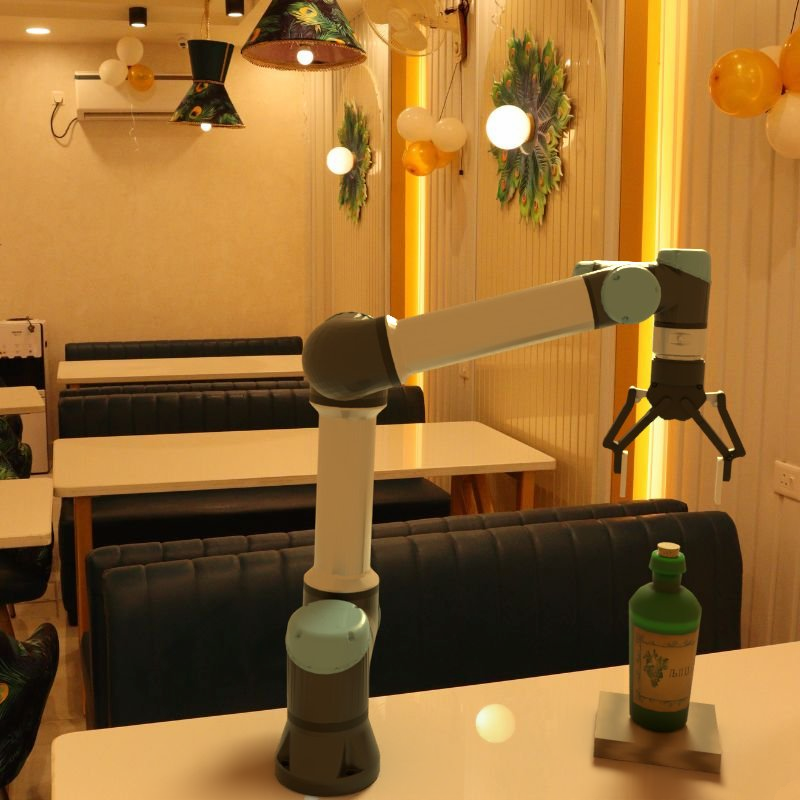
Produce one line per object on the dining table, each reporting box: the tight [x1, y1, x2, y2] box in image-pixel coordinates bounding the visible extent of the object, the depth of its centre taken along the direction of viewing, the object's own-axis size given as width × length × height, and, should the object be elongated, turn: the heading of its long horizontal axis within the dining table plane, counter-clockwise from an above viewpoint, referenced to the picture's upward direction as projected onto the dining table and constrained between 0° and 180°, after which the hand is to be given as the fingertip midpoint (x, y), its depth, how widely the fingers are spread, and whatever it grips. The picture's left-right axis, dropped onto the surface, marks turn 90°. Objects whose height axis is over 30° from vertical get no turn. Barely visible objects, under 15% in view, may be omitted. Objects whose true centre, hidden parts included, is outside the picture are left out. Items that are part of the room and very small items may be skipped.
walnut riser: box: [593, 690, 722, 774], centre depth 154 cm, size 18×16×3 cm
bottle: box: [628, 542, 703, 732], centre depth 152 cm, size 11×11×28 cm
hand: (669, 498), depth 148 cm, fingers open, 13 cm apart
